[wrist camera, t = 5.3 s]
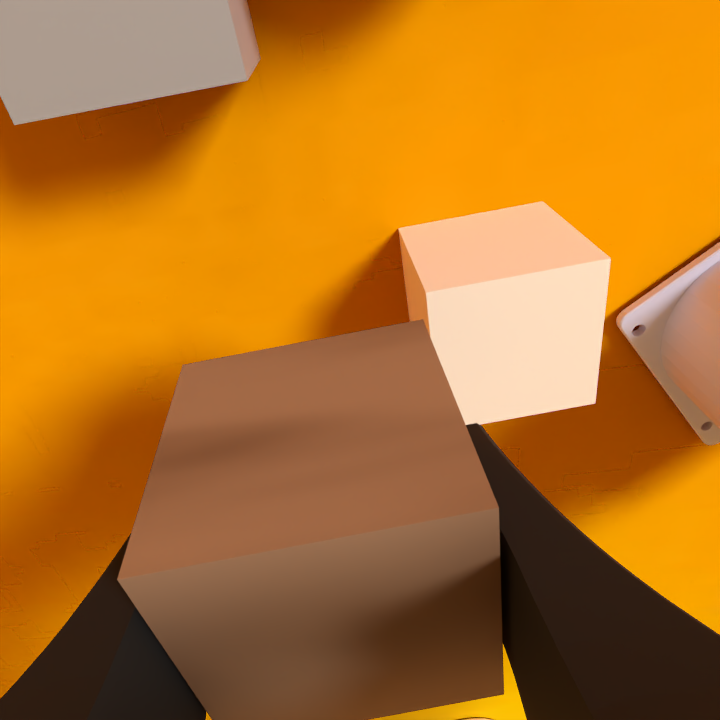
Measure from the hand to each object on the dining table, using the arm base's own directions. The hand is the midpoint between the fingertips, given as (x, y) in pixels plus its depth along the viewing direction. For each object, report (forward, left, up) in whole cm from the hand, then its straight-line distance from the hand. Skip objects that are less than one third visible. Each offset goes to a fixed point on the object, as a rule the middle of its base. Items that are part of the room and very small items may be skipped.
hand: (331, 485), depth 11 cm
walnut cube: (0, 0, -2) cm, 2 cm away
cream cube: (-4, -4, -10) cm, 12 cm away
